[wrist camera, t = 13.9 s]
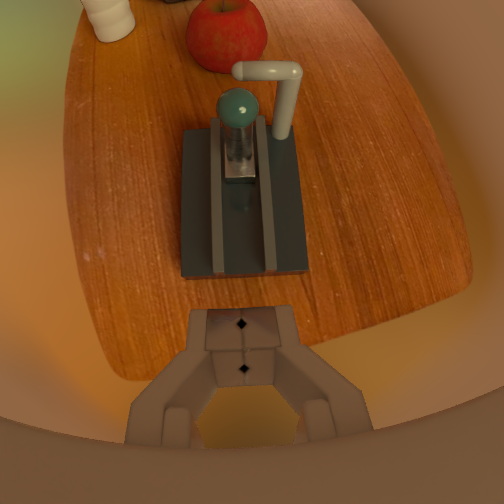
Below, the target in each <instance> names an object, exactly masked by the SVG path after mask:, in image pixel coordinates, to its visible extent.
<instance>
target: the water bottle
mask: <svg viewBox="0 0 504 504" xmlns="http://www.w3.org/2000/svg"><path fill="white" fill-rule="evenodd" d="M80 1H81V3H82V5H83V6H84V8H85V10H86V11H87V16H88V19H89V21H90V23H91V24H92V25H93V28H94V32H95V34H96V36H97V38H98V40H99V41H101V42H106V43H108V42H114V41H117V40H120V39H122V38H124V37H125V36H127V35H128V34H129V33H130V32H131V31H132V30H133V29H134V27H135V19H134V16H133V13H132V11H131V10H130V4H129V1H128V0H80Z"/></svg>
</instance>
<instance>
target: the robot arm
mask: <svg viewBox="0 0 504 504" xmlns="http://www.w3.org/2000/svg"><path fill="white" fill-rule="evenodd" d="M256 385H273V386H274V387H275V388H276V390H277V391H278V392H279V393H280V394H281V395H282V397H283V398H284V399H285V400H286V401H287V402H288V404H289V405H290V406H291V407H292V408H293V409H294V410H295V412H296V413H297V414H298V415H299V416H300V418H299V422H298V426H297V430H296V433H295V437H294V444H289V445H278V446H266V447H252V448H229V449H228V448H227V449H205V446H204V443H203V441H202V438H201V436H200V433H199V431H198V428H197V425H196V423H195V422H196V421H197V419H198V418H199V416H200V415H201V413H202V412H203V410H204V409H205V408H206V406H207V405H208V403H209V401H210V400H211V399H212V397H213V395H214V394H215V392H216V391H217V388H220V387H237V386H256ZM0 504H504V386H503V387H500V388H498V389H496V390H493V391H491V392H489V393H487V394H484V395H482V396H479V397H477V398H475V399H472V400H470V401H467V402H465V403H462V404H459V405H456V406H454V407H451V408H448V409H445V410H443V411H439V412H437V413H433V414H430V415H427V416H424V417H421V418H418V419H414V420H411V421H407V422H404V423H400V424H397V425H393V426H389V427H385V428H381V429H376V430H374V429H373V426H372V423H371V420H370V416H369V413H368V410H367V407H366V403H365V401H364V397H363V394H362V391H361V390H359V389H358V388H357V387H356V386H354V385H353V384H352V383H351V382H349V381H348V380H347V379H346V378H345V377H344V376H342V375H341V374H340V373H339V372H337V371H336V370H335V369H334V368H333V367H332V366H330V365H329V364H328V363H327V362H326V361H324V360H323V359H322V358H321V357H320V356H319V355H317V354H316V353H315V352H314V351H313V350H311V349H310V348H309V347H308V346H307V345H301V343H300V339H299V334H298V330H297V326H296V322H295V317H294V313H293V309H292V306H291V305H279V306H274V307H273V306H268V307H253V308H237V309H208V310H191V311H190V314H189V322H188V331H187V340H186V349H185V351H180V352H179V353H178V354H177V355H176V356H175V358H174V359H173V360H172V361H171V362H170V363H169V364H168V365H167V366H166V367H165V368H164V369H163V370H162V371H161V372H160V373H159V374H158V376H157V377H156V378H155V379H154V380H153V381H152V382H151V383H150V384H149V385H148V386H147V387H146V388H145V389H144V390H143V391H142V392H141V393H140V395H139V396H138V397H137V398H136V399H135V400H134V401H133V402H132V403H131V407H130V413H129V418H128V424H127V430H126V435H125V441H124V444H122V443H114V442H107V441H100V440H94V439H88V438H83V437H78V436H72V435H68V434H63V433H58V432H53V431H49V430H45V429H42V428H38V427H34V426H30V425H26V424H23V423H20V422H16V421H13V420H10V419H7V418H3V417H0Z"/></svg>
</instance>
